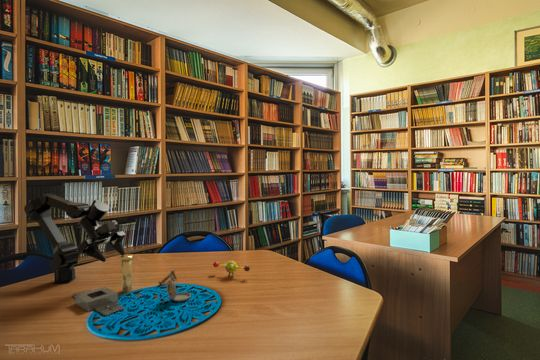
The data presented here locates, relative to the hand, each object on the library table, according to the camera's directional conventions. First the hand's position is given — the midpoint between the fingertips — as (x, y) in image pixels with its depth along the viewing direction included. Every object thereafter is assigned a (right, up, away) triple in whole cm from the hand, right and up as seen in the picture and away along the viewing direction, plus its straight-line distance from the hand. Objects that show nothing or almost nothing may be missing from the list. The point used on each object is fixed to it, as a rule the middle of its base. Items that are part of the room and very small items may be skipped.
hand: (114, 257), depth 122 cm
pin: (+6, -12, -1) cm, 14 cm away
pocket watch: (+28, -13, -10) cm, 32 cm away
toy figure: (+44, -12, +14) cm, 48 cm away
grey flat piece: (0, -13, -12) cm, 18 cm away
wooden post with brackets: (+18, -12, +7) cm, 23 cm away
